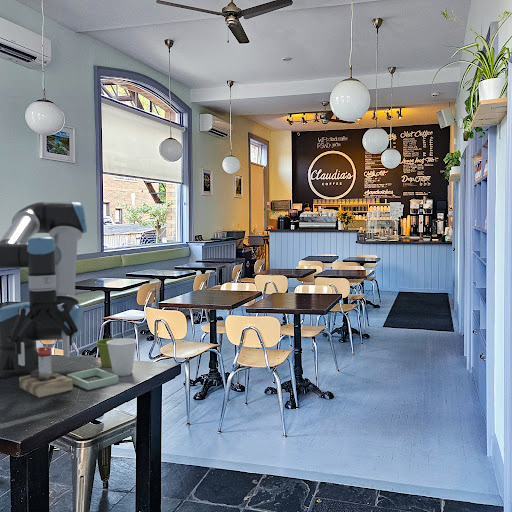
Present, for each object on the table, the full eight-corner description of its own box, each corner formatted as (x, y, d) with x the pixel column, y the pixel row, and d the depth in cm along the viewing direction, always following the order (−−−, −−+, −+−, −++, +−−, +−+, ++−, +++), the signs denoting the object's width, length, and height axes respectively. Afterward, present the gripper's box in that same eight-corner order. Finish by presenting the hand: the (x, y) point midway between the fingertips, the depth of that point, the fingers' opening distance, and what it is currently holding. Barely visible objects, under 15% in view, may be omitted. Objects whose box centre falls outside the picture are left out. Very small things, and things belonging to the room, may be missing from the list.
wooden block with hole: (19, 390, 163) (18, 371, 163) (51, 383, 170) (51, 365, 170) (39, 400, 153) (38, 380, 153) (72, 392, 161) (72, 373, 160)
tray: (67, 384, 169) (66, 374, 169) (97, 377, 177) (96, 368, 176) (87, 393, 160) (87, 382, 160) (118, 385, 167) (118, 375, 167)
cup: (130, 378, 174) (129, 345, 174) (101, 377, 176) (100, 344, 176) (142, 370, 184) (141, 338, 184) (115, 369, 186) (114, 337, 185)
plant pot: (115, 369, 186) (114, 344, 185) (91, 367, 188) (90, 343, 188) (129, 363, 195) (128, 339, 194) (105, 361, 197) (105, 337, 197)
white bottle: (37, 388, 162) (35, 348, 161) (49, 385, 164) (47, 346, 164) (42, 390, 159) (41, 350, 159) (54, 388, 162) (53, 348, 161)
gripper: (3, 294, 149) (6, 370, 150) (88, 286, 166) (89, 355, 167) (-7, 292, 154) (-4, 366, 155) (76, 285, 172) (78, 351, 173)
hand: (44, 360), depth 161 cm, fingers open, 13 cm apart
